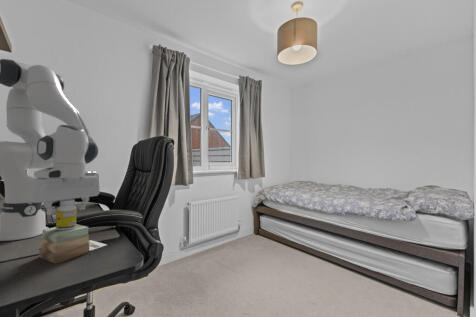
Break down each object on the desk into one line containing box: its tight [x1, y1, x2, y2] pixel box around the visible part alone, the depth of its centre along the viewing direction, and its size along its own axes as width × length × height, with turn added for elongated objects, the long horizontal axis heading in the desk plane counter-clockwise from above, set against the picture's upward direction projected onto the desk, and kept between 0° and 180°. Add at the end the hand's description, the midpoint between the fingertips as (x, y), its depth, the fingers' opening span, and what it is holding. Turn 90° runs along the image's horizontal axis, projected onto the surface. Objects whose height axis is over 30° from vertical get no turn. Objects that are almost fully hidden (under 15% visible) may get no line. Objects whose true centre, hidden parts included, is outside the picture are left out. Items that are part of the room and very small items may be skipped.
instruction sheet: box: [89, 239, 108, 252], centre depth 84 cm, size 10×6×1 cm, turn 66°
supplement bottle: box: [55, 198, 78, 230], centre depth 75 cm, size 5×5×10 cm
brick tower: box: [38, 223, 90, 264], centre depth 75 cm, size 10×10×9 cm
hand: (67, 212), depth 75 cm, fingers open, 8 cm apart
